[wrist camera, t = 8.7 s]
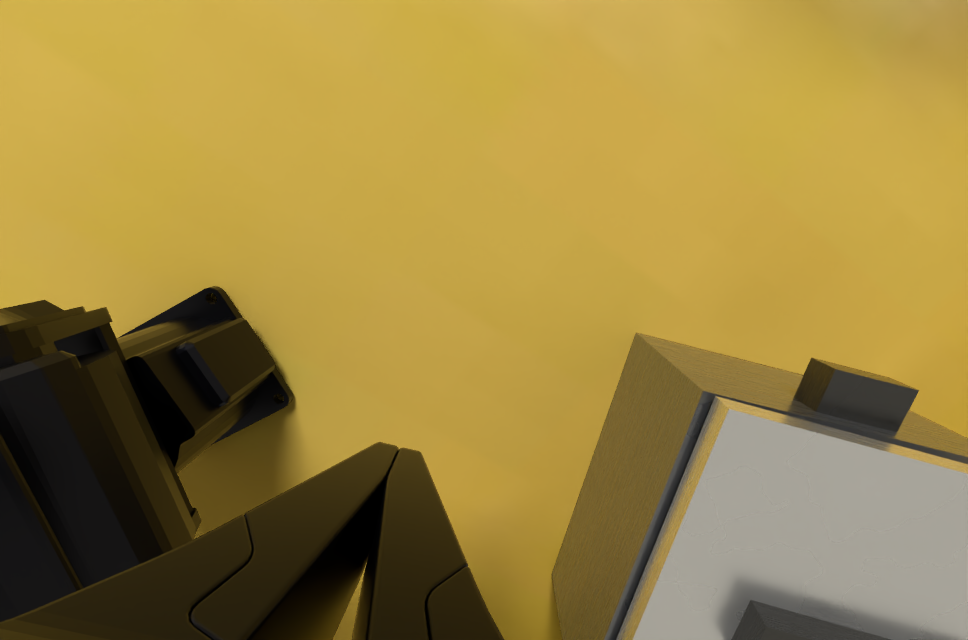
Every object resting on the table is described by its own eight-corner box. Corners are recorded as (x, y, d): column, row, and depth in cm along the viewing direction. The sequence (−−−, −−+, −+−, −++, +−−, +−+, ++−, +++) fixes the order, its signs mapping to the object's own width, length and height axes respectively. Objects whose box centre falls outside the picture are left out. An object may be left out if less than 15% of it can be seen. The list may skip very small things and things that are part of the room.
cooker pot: (543, 597, 25) (562, 743, 18) (647, 300, 21) (721, 344, 14) (749, 644, 26) (843, 802, 19) (890, 362, 22) (1073, 434, 15)
